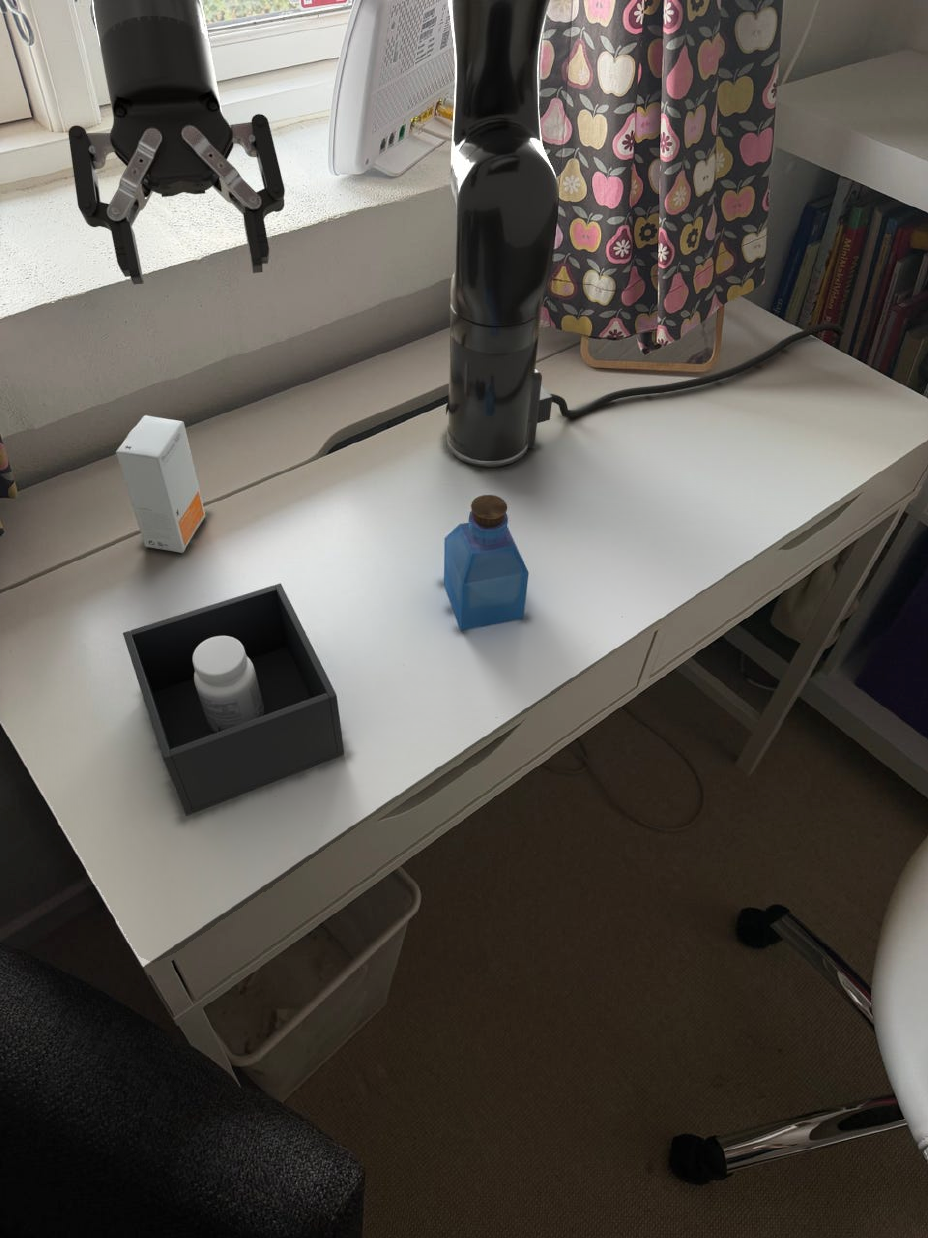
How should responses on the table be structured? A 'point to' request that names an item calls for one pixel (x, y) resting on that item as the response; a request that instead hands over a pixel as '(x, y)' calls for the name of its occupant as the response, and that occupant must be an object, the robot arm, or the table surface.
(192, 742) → the open box
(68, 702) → the table surface
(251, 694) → the pill bottle
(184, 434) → the cosmetic box
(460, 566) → the perfume bottle
